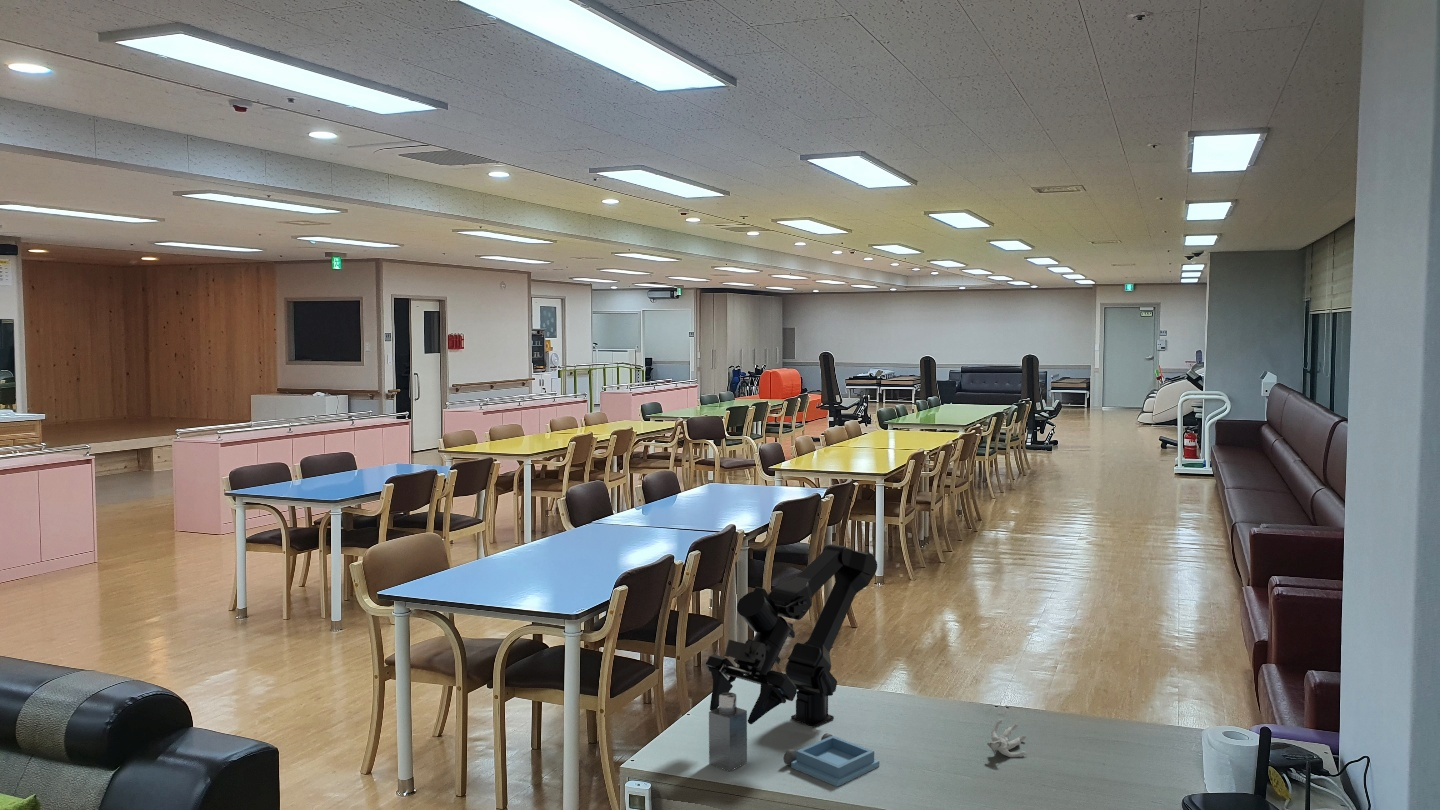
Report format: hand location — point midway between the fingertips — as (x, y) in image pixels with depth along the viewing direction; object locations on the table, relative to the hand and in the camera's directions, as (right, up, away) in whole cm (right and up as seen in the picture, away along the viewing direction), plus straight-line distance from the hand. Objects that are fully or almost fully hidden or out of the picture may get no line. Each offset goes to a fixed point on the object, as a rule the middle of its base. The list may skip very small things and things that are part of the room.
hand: (730, 717), depth 194 cm
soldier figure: (+53, -8, +5) cm, 54 cm away
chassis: (+19, -9, -2) cm, 21 cm away
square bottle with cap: (0, -9, 0) cm, 9 cm away
